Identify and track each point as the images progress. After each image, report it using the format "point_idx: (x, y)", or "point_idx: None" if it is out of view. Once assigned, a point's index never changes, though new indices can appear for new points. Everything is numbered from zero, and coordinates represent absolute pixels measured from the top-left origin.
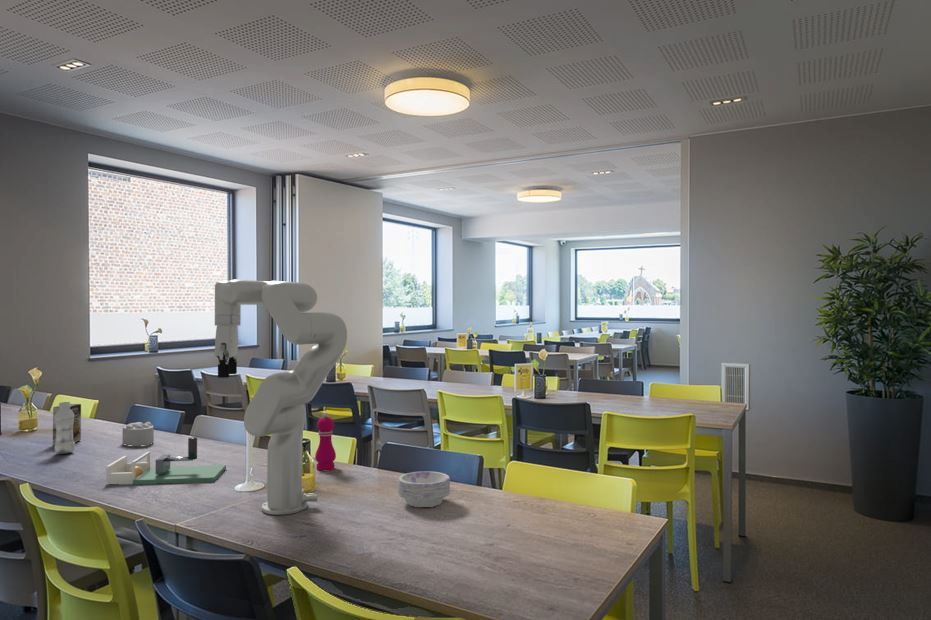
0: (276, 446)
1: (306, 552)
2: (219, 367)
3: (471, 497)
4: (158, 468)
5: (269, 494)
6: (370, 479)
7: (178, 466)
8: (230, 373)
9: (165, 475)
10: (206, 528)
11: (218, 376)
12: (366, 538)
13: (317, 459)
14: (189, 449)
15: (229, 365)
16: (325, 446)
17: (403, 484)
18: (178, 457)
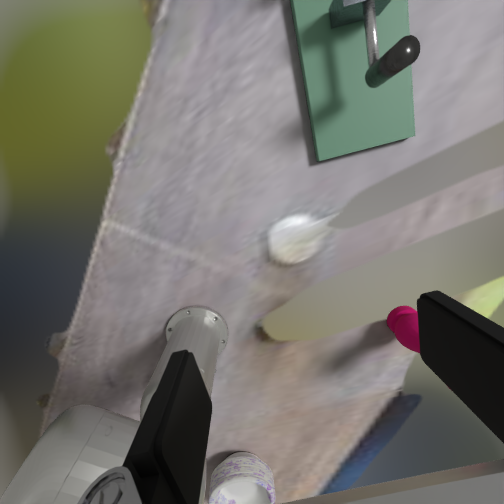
0: (140, 411)
1: (70, 401)
2: (149, 432)
3: None
4: (333, 8)
5: (171, 335)
6: (338, 393)
7: (408, 19)
8: (419, 327)
9: (330, 37)
10: (100, 270)
11: (171, 358)
12: None
13: (400, 321)
14: (378, 61)
15: (482, 368)
16: (417, 348)
17: (216, 484)
18: (371, 36)
